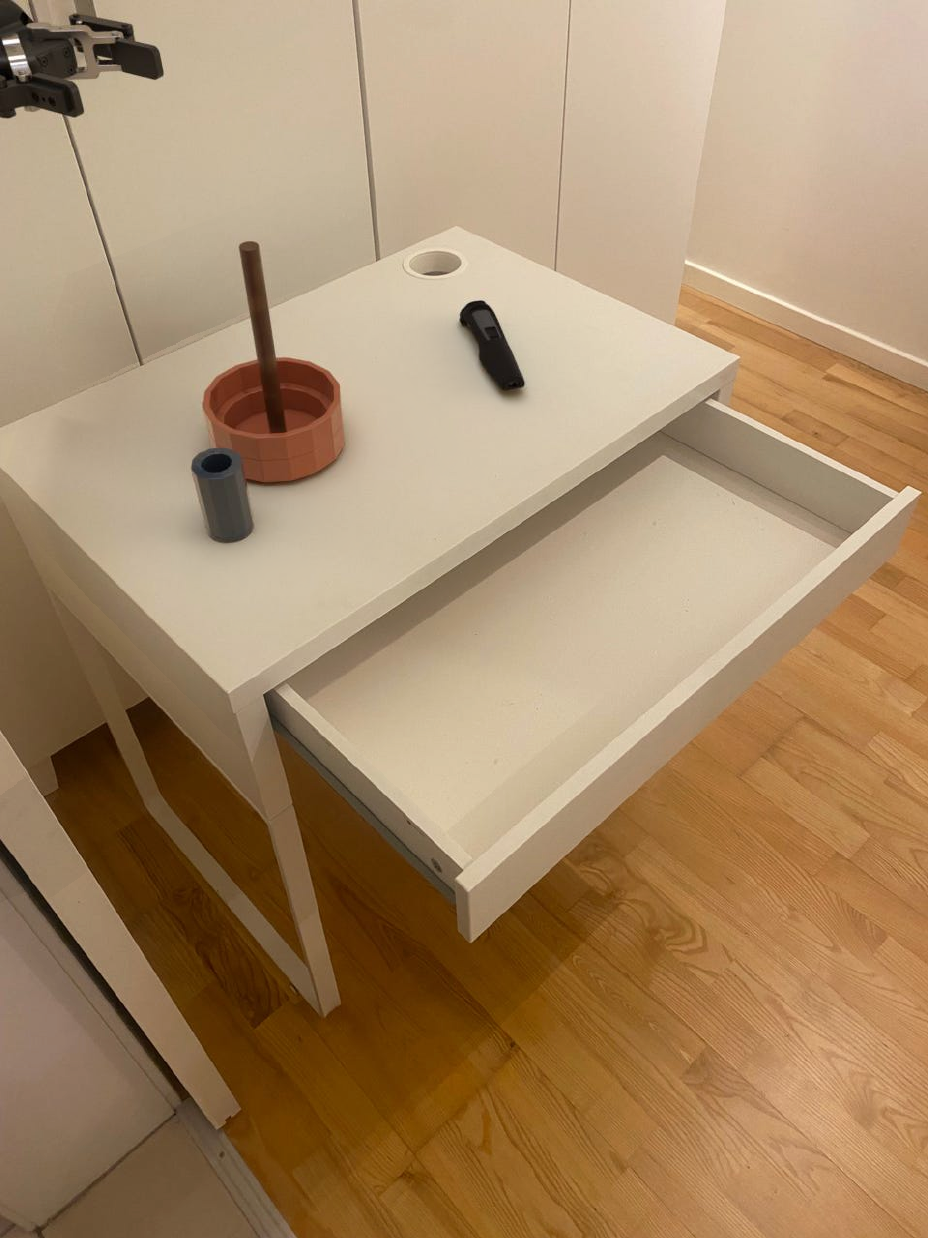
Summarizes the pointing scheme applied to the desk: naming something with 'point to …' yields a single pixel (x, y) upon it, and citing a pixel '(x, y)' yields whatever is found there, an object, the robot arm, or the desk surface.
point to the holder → (223, 494)
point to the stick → (262, 334)
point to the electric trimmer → (492, 345)
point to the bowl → (308, 417)
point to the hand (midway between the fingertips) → (120, 81)
